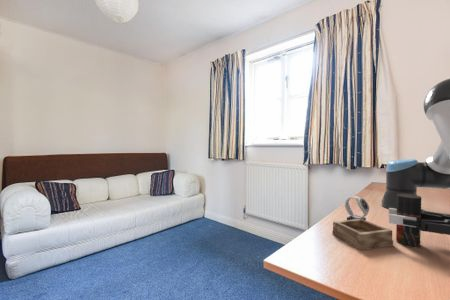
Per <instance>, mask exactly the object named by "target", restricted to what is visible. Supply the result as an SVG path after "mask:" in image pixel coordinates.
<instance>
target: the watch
mask: <svg viewBox="0 0 450 300" xmlns="http://www.w3.org/2000/svg"><path fill="white" fill-rule="evenodd" d="M351 199H355V200H356V202H357V205H358V206H357V207H359V209H360V211H361V212H362V213H363V215H362V216H361V215H356V214H354V212H353V210H352V208H351V206H350V203H349V201H350V200H351ZM344 202H345V203H344V207H345V210H346V212H347V213H348V216H347V217H346V220H354V219H364V220H365V221H367V220H366V219H367V217H366V216H367V215H368V214H369V211H370V206H369V203H368V202H367V200H366V199H364V198H363V197H360V196H355V195H354V196H351V197H348V198H347V199H346V200H345V201H344Z"/></svg>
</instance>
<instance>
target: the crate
mask: <svg viewBox="0 0 450 300" xmlns="http://www.w3.org/2000/svg"><path fill="white" fill-rule="evenodd" d="M331 234H332V235H333V234H334V235H333V236H334V237H336V236H337V238H338V239H340V240H342V241H344V242H345V243H348V244H349V245H351V246H353V247H355V248H357V249H358V250H361V251H364V250H365V251H366V250H372V249H377V248H386V247H389V246H394V240H393V230H392V229H390V228H386V227H383V226H380V225H378V224H375V223H373V222H370V221H368V220H366V221H365V220H364V219H354V220H347V219H346V220H337V221H333V222H332V233H331Z"/></svg>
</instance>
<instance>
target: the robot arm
mask: <svg viewBox="0 0 450 300" xmlns="http://www.w3.org/2000/svg"><path fill="white" fill-rule="evenodd" d="M423 111H424V114H425V116H426V118H427V119H428V120H430V121H432V123H433V124H434V127H435V130H436V131H437V133H438V135H439V138H440V140H441V141H440V143H439V144H438V146H437V148H436V150H435V153H434V154H433V155H429V156H428V157H427V159H426V160H425V162H419V161H418V160H417V159H415V158H409V159H405V158H403V159H394V160H389V161H388V162H387V163H386V167H385V168H386V169H385V172H386V173H385V174H386V175H385V176H386V181H385V184H386V185H385V193H384V194H383V196H382V197H383V198H382V199H381V206H382V207H383V208H385V209H388V223H389V224H392V225H396V224H398V225H404V226H410V227H417V228H419V229H421V232H427V233H434V234H440V235H441V234H442V235H449V236H450V214H447V213H439V212H433V211H426V210H421V218H420V217H417V218H415V217H408V216H401V215H397V194H411V195H417V196H418V194H417V189H418V188H427V189H429V188H430V189H445V190H446V189H450V78H447V79H444V80H442V81H439V83H437V84H435V85H434V86H433V87H432V88H431V89H430V90H429V91H428V92H427V94H426V96H425V98H424V100H423ZM416 220H417V221H416Z"/></svg>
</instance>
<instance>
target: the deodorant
mask: <svg viewBox="0 0 450 300" xmlns="http://www.w3.org/2000/svg"><path fill="white" fill-rule="evenodd" d="M421 211H422V196H420V195H418V194H417V195H411V194H397V215H401V216H408V217H415V218H417V217H420V218H421ZM416 221H417V220H416ZM395 225H396V229H395V230H396V231H395V232H396V234H395V236H396V237H395V241H396V243H397V244H399V245H402V246H404V247H409V248H420V247H421V233H422V231H421V229H419V228H417V227H410V226H404V225H398V224H395Z"/></svg>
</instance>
